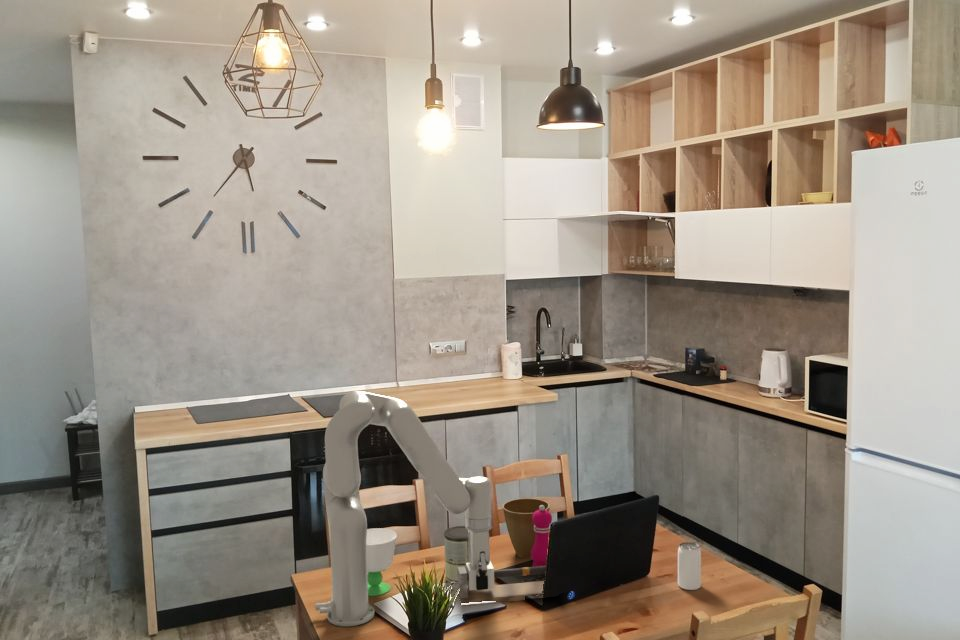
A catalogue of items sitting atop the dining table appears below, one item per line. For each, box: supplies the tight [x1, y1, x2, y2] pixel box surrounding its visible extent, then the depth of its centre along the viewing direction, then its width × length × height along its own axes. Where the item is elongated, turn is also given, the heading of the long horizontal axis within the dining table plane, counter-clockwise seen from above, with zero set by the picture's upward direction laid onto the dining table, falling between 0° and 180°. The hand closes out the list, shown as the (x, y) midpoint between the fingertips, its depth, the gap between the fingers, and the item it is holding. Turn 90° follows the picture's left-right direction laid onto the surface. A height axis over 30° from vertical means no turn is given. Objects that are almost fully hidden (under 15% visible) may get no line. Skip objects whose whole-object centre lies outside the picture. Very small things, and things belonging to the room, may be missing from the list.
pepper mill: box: [531, 505, 553, 567], centre depth 244 cm, size 7×7×20 cm
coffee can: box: [443, 525, 471, 585], centre depth 239 cm, size 10×10×14 cm
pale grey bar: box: [457, 566, 546, 604], centre depth 226 cm, size 28×8×8 cm, turn 100°
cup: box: [366, 527, 398, 597], centre depth 232 cm, size 14×14×16 cm
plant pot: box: [502, 497, 550, 559], centre depth 256 cm, size 15×15×16 cm
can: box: [677, 541, 702, 591], centre depth 230 cm, size 6×6×12 cm
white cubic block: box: [466, 560, 495, 590], centre depth 225 cm, size 7×6×6 cm
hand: (480, 583), depth 225 cm, fingers closed on white cubic block, 5 cm apart
